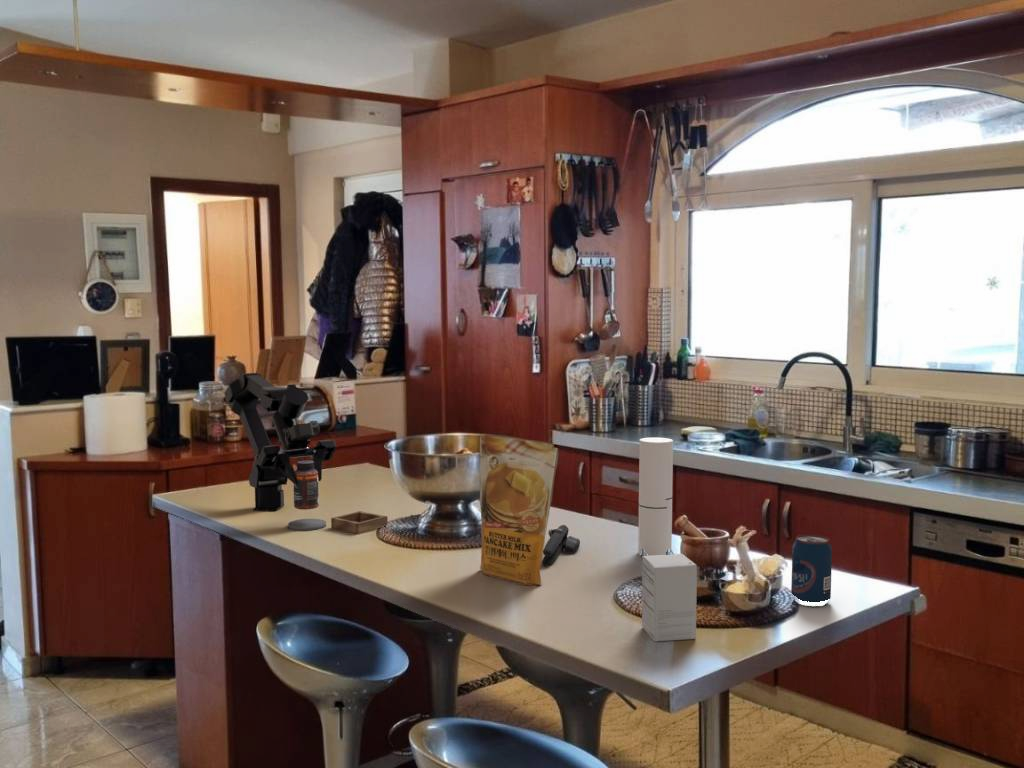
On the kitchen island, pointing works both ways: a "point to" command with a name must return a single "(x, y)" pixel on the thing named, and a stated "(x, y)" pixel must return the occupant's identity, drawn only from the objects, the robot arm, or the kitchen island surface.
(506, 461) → the pancake mix bag
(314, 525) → the coaster
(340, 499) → the kitchen island surface
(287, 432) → the robot arm
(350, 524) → the pocket
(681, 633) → the supplement box
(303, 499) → the supplement bottle
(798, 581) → the soda can
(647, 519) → the cylindrical container
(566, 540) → the can opener
